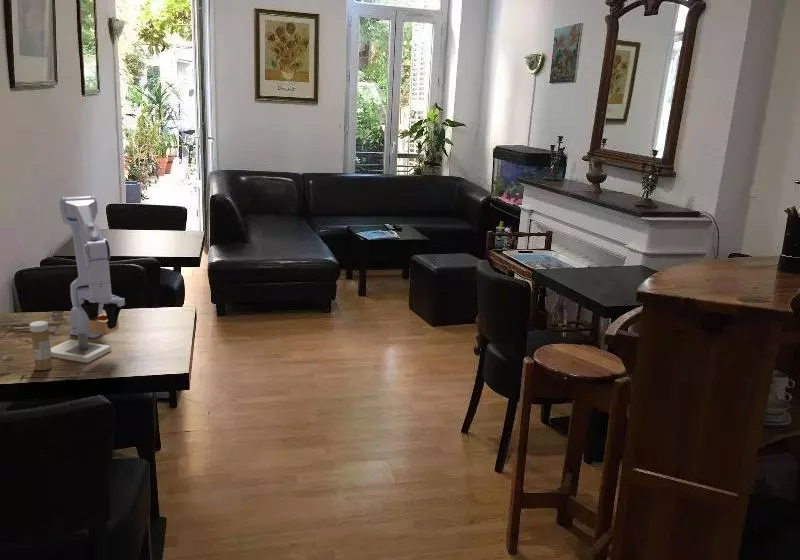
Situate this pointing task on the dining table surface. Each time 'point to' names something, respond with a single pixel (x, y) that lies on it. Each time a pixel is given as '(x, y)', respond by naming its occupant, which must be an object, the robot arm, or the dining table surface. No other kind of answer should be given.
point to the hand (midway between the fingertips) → (103, 326)
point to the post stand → (79, 349)
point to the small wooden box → (101, 325)
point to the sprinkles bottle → (41, 345)
